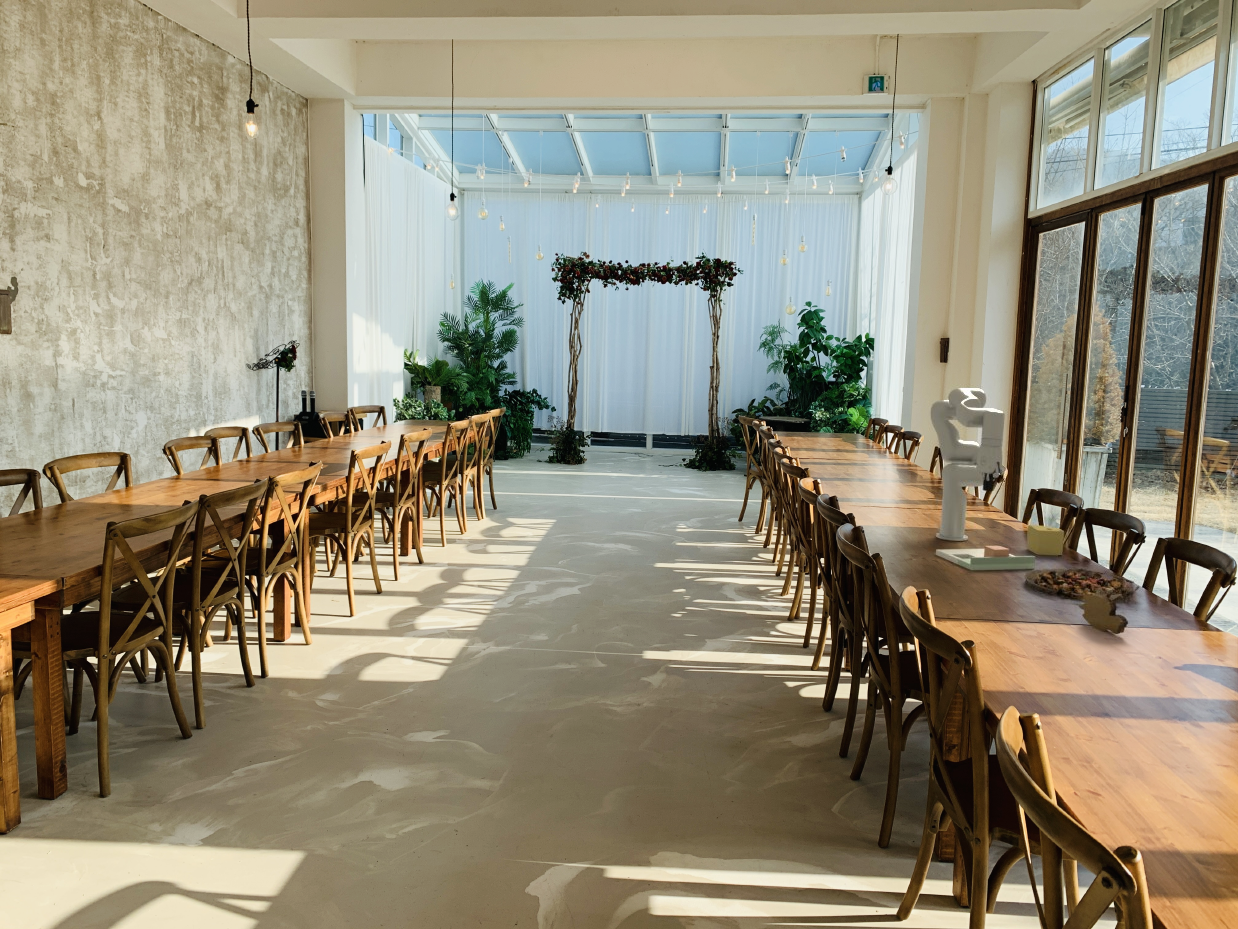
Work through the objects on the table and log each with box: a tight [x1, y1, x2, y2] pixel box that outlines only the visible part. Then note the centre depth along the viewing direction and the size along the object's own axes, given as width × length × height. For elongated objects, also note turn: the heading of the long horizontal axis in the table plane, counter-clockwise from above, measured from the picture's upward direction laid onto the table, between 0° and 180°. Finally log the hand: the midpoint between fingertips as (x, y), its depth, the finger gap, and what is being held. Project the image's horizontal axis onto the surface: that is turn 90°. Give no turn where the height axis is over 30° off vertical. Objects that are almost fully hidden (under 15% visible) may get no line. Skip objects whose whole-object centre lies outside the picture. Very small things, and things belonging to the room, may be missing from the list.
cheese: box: [1026, 524, 1065, 556], centre depth 346 cm, size 10×11×10 cm
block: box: [983, 545, 1011, 557], centre depth 321 cm, size 6×6×5 cm
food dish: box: [1024, 567, 1140, 604], centre depth 291 cm, size 35×33×8 cm
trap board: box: [935, 548, 1036, 571], centre depth 329 cm, size 24×25×4 cm
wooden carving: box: [1078, 594, 1129, 635], centre depth 249 cm, size 16×5×10 cm, turn 17°
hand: (987, 490), depth 337 cm, fingers closed
